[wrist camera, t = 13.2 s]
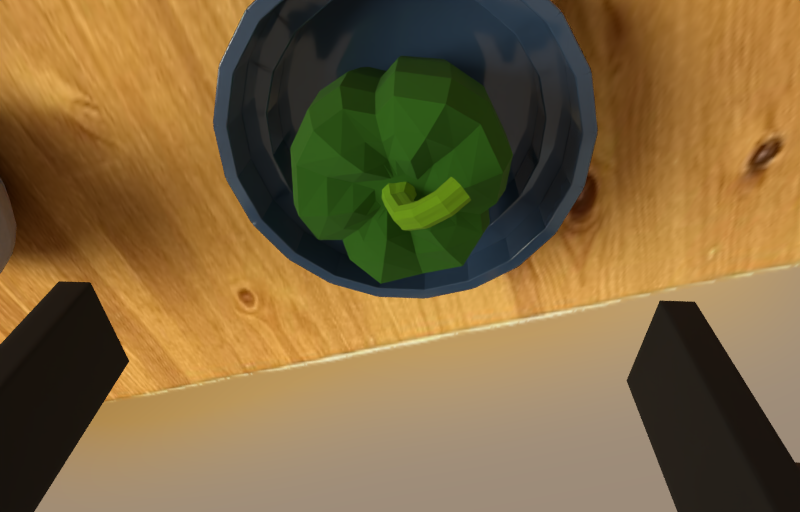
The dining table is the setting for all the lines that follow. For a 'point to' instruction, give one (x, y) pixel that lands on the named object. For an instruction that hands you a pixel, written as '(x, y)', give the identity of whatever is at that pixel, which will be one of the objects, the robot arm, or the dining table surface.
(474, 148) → the bell pepper
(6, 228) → the coffee pot
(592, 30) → the dining table surface
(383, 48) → the bowl
